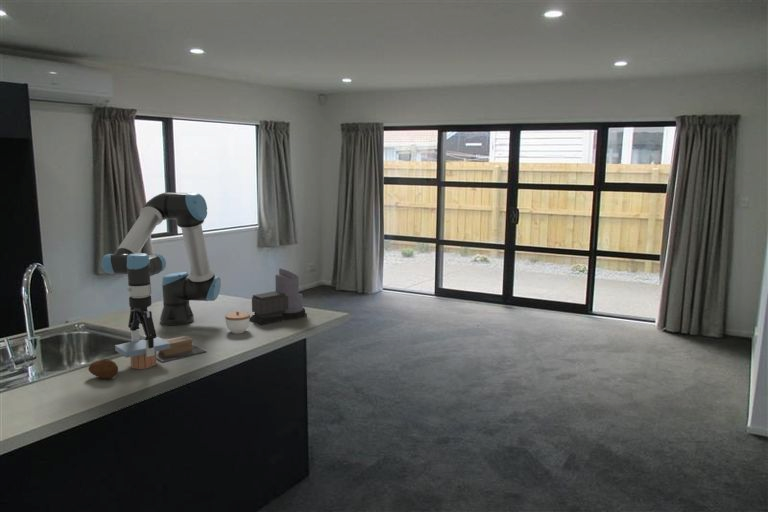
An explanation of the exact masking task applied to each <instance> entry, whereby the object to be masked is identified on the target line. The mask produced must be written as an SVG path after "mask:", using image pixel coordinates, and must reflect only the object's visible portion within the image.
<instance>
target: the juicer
mask: <svg viewBox="0 0 768 512" xmlns="http://www.w3.org/2000/svg"><path fill="white" fill-rule="evenodd" d="M278 272H279V273H278V274H275V277H274V278H275V282H274V283H275V291H274V290H273V291H269V292H263V293H256V294H253V295H252V297H251V312H252V313H253V314H252V315H250V323H253V324H254V325H255V324H256V325H258V326H266V325H269V324H275V323H279V322H282V321H283V322H284V321H288V320H289V321H290V320H299V319H301V318H304V317H307V314H308V313H307V312H306V309H305V307H303V303H304V302H303V294H302V293H299V290H300V287H299V286H300V284H299V281H300V280H299V276H298V275H297V274H296V273H293V272H292V271H290V270H287V269H284V268H282V267H281V268H279V269H278ZM298 318H299V319H298Z"/></svg>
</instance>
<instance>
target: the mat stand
mask: <svg viewBox="0 0 768 512" xmlns="http://www.w3.org/2000/svg"><path fill="white" fill-rule="evenodd" d="M164 340H165V341H167V342H169V343H170V349H165V350H161V351H156V361H157V360H158V362H161V363H166V362H170V361H174V359H175V360H179V359H182V358H183V357H184V358H187V357H191V356H195V355H201V354H204V353H207V350H205V349H203V348H201V347H200V346H197V345H195V344H193V339H192V338H191V337H188V336H186V335H182V336H178V337H172V338H167V339H164ZM184 358H183V359H184Z"/></svg>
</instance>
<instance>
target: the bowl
mask: <svg viewBox="0 0 768 512" xmlns="http://www.w3.org/2000/svg"><path fill="white" fill-rule="evenodd" d="M154 354H155V355H154V356H149V357H146V354H142V355H138V356H133V357H130V367H131V368H133V369H136V370H143V369H150V368H152V366H153V367H154V365H155V366H156V365H157V359H156V352H154ZM149 367H150V368H149Z"/></svg>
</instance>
